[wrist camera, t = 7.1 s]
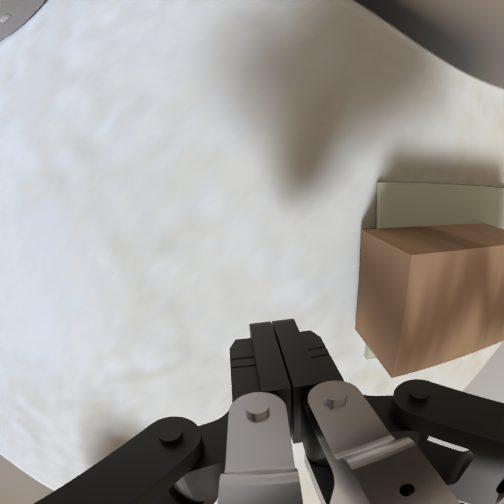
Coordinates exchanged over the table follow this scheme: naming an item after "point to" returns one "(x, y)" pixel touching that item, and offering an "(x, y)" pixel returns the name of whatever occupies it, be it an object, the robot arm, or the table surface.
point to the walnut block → (430, 293)
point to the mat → (436, 207)
